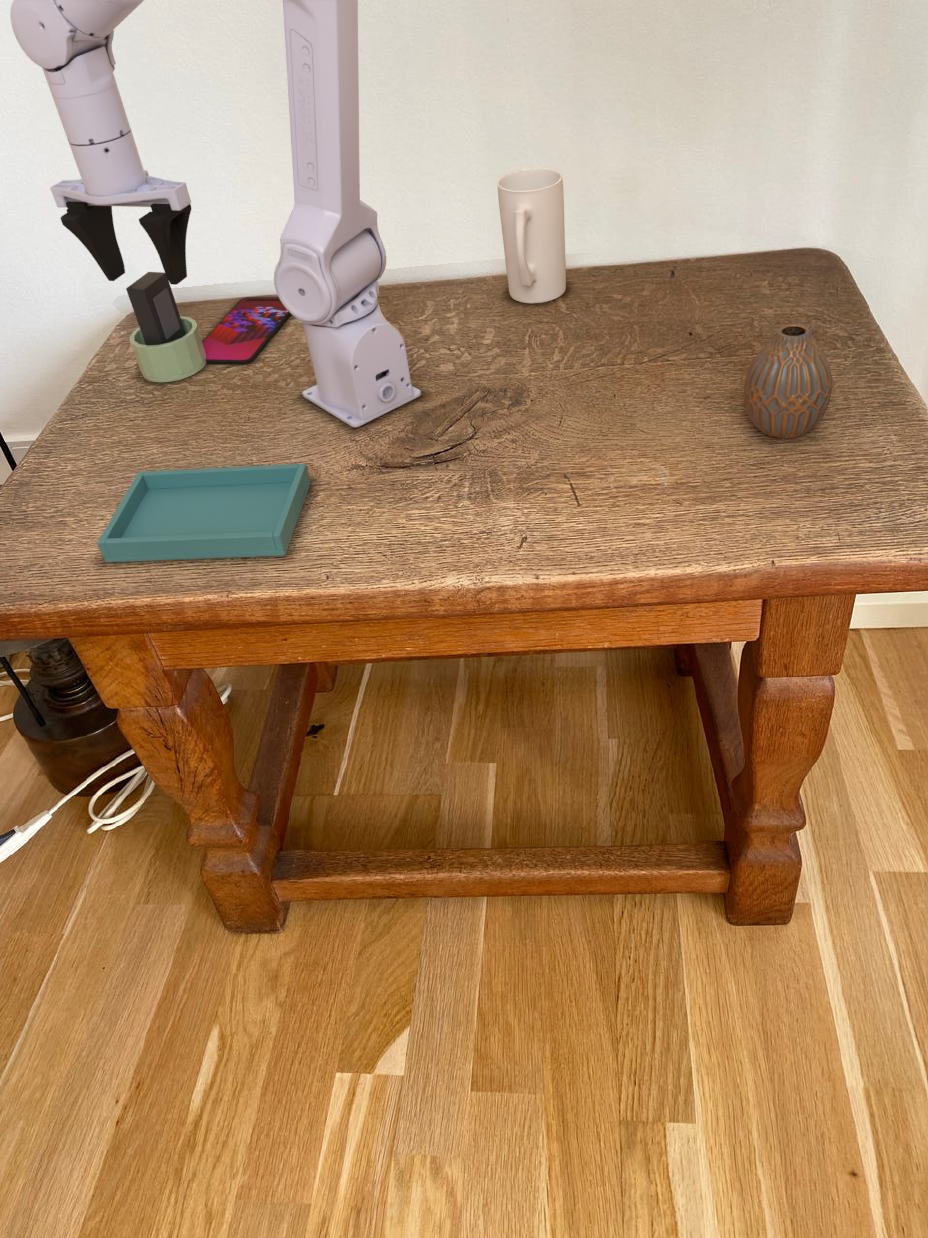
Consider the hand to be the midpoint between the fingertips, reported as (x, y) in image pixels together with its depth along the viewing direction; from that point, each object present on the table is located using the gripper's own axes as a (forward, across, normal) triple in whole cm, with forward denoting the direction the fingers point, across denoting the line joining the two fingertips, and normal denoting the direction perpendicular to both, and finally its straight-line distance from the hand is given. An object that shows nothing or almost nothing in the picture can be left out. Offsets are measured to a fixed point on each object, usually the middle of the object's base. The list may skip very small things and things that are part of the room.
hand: (147, 278), depth 102 cm
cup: (+10, 0, 0) cm, 10 cm away
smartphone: (+10, -4, -8) cm, 14 cm away
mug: (+10, -34, -20) cm, 40 cm away
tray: (+10, -20, +24) cm, 33 cm away
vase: (+10, -63, +1) cm, 64 cm away
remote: (+9, 0, 0) cm, 9 cm away
